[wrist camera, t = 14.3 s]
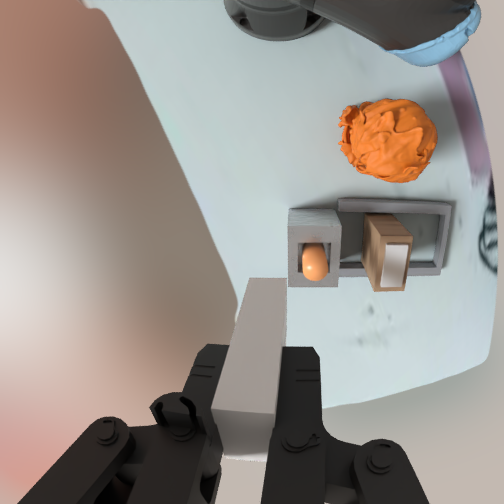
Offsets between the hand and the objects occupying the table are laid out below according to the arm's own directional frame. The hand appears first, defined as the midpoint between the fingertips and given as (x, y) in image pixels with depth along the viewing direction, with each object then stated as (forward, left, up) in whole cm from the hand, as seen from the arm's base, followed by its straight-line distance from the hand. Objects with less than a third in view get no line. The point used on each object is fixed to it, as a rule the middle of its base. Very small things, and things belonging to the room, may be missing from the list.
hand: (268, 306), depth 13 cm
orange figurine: (-6, +12, -35) cm, 37 cm away
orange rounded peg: (+10, +3, -29) cm, 31 cm away
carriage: (+10, +14, -34) cm, 39 cm away
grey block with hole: (+10, +4, -34) cm, 36 cm away
